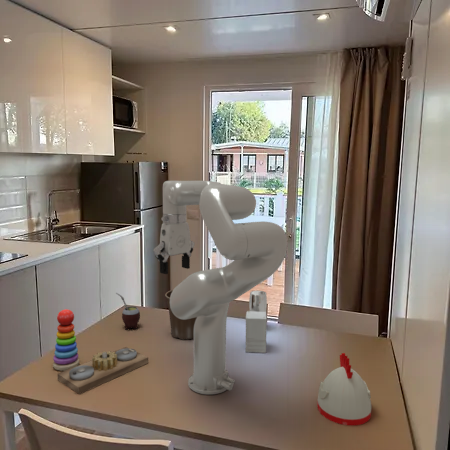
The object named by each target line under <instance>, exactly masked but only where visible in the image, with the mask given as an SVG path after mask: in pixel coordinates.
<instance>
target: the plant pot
mask: <svg viewBox="0 0 450 450" xmlns="http://www.w3.org/2000/svg"><path fill="white" fill-rule="evenodd" d="M173 290H174V289H172V290H169V291H167V292H166V293H165V295H164V296H165V298H166V303H167V307H168V312H169V321H170V322H169V324H170V334H171V336H172V337H173V338H175V339H177V338H179V339H180V340H192V339H193V340H194V324H195V321H196V318H197V317H195V318H191V319H186V320H183V319H179V318H177V317H176V316H175V315H174V314H173V313H172V311H171V308H170V296H171V293H172V291H173Z"/></svg>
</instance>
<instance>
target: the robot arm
mask: <svg viewBox="0 0 450 450" xmlns="http://www.w3.org/2000/svg"><path fill="white" fill-rule="evenodd" d="M187 206H199V212H200V214H201V218H202V221H203V222H204V224H205V226H206V228H207V230H208V233H209V234H210V236H211V238H212V240H213V243H214V244H215V246H216V248H217V250H218V252H219V254H220V255H221V256H222V257H223V258H225V259H227V260H230V261H231V262H230V263H229V264H227V265H226V266H221V267H215V268H210V269H204V270H199V271H196V272H193V273H191V274H189V275H188V276H187V277H186V278H184V279H183V280H182V281H181V282H180V283H178V284H177V285H176V286H175V287H174V288H173V289H172V290H173V291H172V293H171V296H170V308H171V311H172V313H173V314H174V315H175V316H176V317H177V318H179V319H183V320H186V319H191V318H195V317H197V318H196V321H195V324H194V339H193V373H192V375H190V377H188V380H187V384H188V387H189V389H191V390H192V391H193V392H195V393H198V394H200V395H209V396H210V395H217V394H221V393H225V392H226V391H227V390H228V391H232V390H233V387H234V384H235V381H236V380H235V379H233V378H231V377H230V376H229V371H228V370H226V365H227V364H226V361H227V360H226V356H227V353H226V351H227V346H226V345H227V317H228V311H229V307H230V303H231V302H233V301H235V300H237V299H238V298H240V297H242V295H244V294H246V293H247V292H250V291H251V290H252V289H253V288H255V287H256V286H258V285H259V284H261V283H263V282H264V281H266V280H268V279H269V278H270V277H272V276H273V275H274V274H275V273H276V272H277V270H278V269H279V268H280V267H281V266H282V264H283V262H284V260H285V258H286V257H285V256H286V254H287V248H288V237H287V234H286V231H285V230H284V228H283V227H282V226H280V225H278V224H277V223H275V222H271V221H252V222H239V223H235V222H234V221H237V220H243V219H246V218H248V217H250V216H251V215H252V214H253V213H254V211H255V210H256V207H257V199H256V197H255V194H253V192H252V191H250V189H248V188H247V187H243V186H238V185H233V184H232V185H231V184H225V183H221V182H218V181H211V180H166V181H164V182H163V184H162V217H161V219H160V220H161V221H162V224H161V228H160V236H159V244H158V245H157V246H155V247H154V248H153V250H152V252H153V253H154V255H155V256H154V257H155V258H156V259H157V261H158V262H159V273H160V274H163V275H168V273H169V262H168V258H170V257H169V256H171V257H172V256H177V255H181V268H183V269H187V270H188V269H189V270H190V266H191V265H190V264H191V263H190V262H191V260H190V259H191V258H190V257H191V256H192V253H193V251H194V248H195V247H194V246H195V241H193V240H191V230H190V225H189V222H187Z"/></svg>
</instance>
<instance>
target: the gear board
mask: <svg viewBox="0 0 450 450" xmlns="http://www.w3.org/2000/svg"><path fill="white" fill-rule="evenodd" d="M102 352H103V351H102ZM102 352H101V353H102ZM107 352H108V351H105V352H103V353H102V358H107ZM113 352H115V354H117V364H116V365H117V366H116V367H113V369H107V371H104V370H101V371H98V369H96V370H95V369H94V368H93V364H92V359H91V360H89V361H86V362H84V363H82V364H79V365H78V366H76V367H73V368H71V369H68V370H66V371H61V372H58V373H57V381H58V382H60V383H61V384H63V385H65V386H66V387H68V388H69V389H71V390H72V391H74V392H75V393H77V394H78V395H80V394H83V393H85V392H87V391H89V390H91V389H94V388H96V387H99V386H100V385H103V384H105V383H107V382H109V381H111V380H114V379H116V378H119V377H121V376H123V375H125V374H127V373H130V372H132V371H134V370H135V369H138V368H141V367H144V366H145V365H148V364H149V357H148V356H146V355H144V354H142V353H140V352H138V351H137V350H136V349H134V348H129V347H127V346H125V347H122V348H120V349H118V350H115V351H113Z"/></svg>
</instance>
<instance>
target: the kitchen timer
mask: <svg viewBox="0 0 450 450" xmlns="http://www.w3.org/2000/svg"><path fill="white" fill-rule="evenodd" d="M339 365H340V366H339V367H337V368H335V369H333V370H332V371H330V373H329V374H327V376H326V377H325V378H324V380H323V381H321V380H320V383H319V387H318V396H317V400H316V403H317V405H316V407H317V411H318V412H319V414H320V415H322V416H323V417H324V418H325V419H327V420H329V421H331V422H333V423H336V424H339V425H344V426H360V425H364V424H365V423H367V422H369V421H370V419H371V417H372V401H371V390H369V387H368V385H367V383H366V381H365V380H364V379H363V377H361V375H360V374H359V373H358V372H357V371H355V370H354V369H353V368H352V365H351V364H350V358H349V357H348V355H346V352H343V353H341V354H340V355H339Z"/></svg>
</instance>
